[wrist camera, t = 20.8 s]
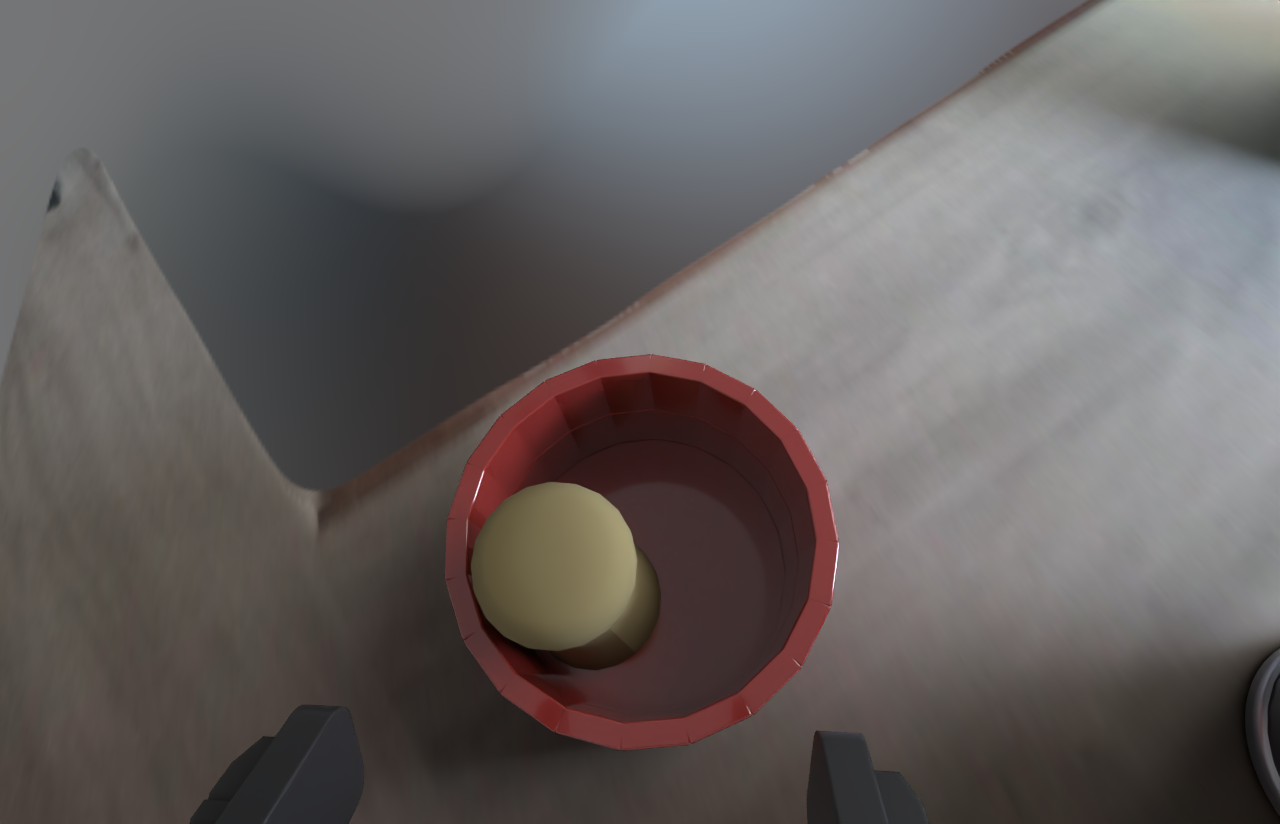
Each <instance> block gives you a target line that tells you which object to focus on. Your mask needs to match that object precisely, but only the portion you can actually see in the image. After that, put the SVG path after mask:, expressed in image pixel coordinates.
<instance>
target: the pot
mask: <svg viewBox="0 0 1280 824" xmlns="http://www.w3.org/2000/svg"><path fill="white" fill-rule="evenodd" d="M467 463H468V464H466V465H465V468H464V471H463V474H462V477H461V480H460V483H459V485H458V488H457V491H456V494H455V497H454V500H453V503H452V506H451V509H450V511H449V514H448V519H447V526H446V557H445V579H446V585H447V589H448V592H449V596H450V599H451V602H452V606H453V609H454V613H455V616H456V620H457V623H458V627H459V630H460V633H461V637H462V639H463V640H464V643H465V645H466V646H467V648H468V649H469V651H470V652H471V653H472V655H473V656H474V658H475V659H476V661H477V662H478V663H479V665H480V666H481V668H482V669H483V671H484V672H485V673H486V675H487V676H488V678H489V679H490V681H491V682H492V683H493V685H494V686H495V688H496V689H497V690H498V692H500V693H501V695H502V696H503V697H505V698H506V699H507V700H509V701H510V702H512V703H513V704H514V705H516V706H517V707H519V708H520V709H521V710H523V711H524V712H526V713H527V714H529V715H530V716H531V717H533V718H534V719H536V720H537V721H538V722H540V723H541V724H543V725H544V726H545V727H547V728H548V729H550V730H551V731H552V732H556V733H557V734H561V735H564V736H568V737H572V738H575V739H579V740H582V741H586V742H590V743H593V744H597V745H601V746H604V747H608V748H612V749H615V750H623V751H626V750H638V749H650V748H662V747H674V746H685V745H689V743H690V744H693V743H695V742H698V741H700V740H702V739H704V738H706V737H708V736H711V735H713V734H715V733H717V732H719V731H721V730H723V729H726V728H728V727H730V726H732V725H734V724H736V723H738V722H741V721H743V720H745V719H747V718H749V717H751V716H752V714H753V715H754V714H756V713H757V712H758V711H759V710H760V709H761V708H762V707H763V706H764V705H765V704H766V703H767V702H768V701H769V700H770V699H771V698H772V697H773V696H774V695H775V694H776V693H777V692H778V691H779V690H780V689H781V688H782V687H783V686H784V685H785V684H786V683H787V682H788V681H789V680H790V679H791V678H792V677H793V676H794V675H795V674H796V673H797V672H798V671H799V670H800V669H801V666H802V665H803V664H804V662H805V660H806V658H807V656H808V654H809V652H810V650H811V648H812V646H813V644H814V642H815V640H816V638H817V636H818V634H819V632H820V629H821V627H822V625H823V623H824V621H825V619H826V617H827V615H828V613H829V611H830V607H831V605H832V599H833V591H834V583H835V575H836V567H837V559H838V551H839V543H838V542H839V538H838V533H837V528H836V523H835V518H834V513H833V508H832V503H831V498H830V493H829V488H828V484H827V483H826V482H827V480H826V478H825V476H824V474H823V472H822V471H821V469H820V467H819V465H818V463H817V462H816V460H815V458H814V456H813V454H812V453H811V451H810V449H809V447H808V446H807V444H806V442H805V440H804V438H803V437H802V435H801V433H800V431H799V430H798V429H797V428H796V427H795V426H794V425H793V424H792V423H791V422H790V421H789V420H788V419H787V418H786V417H785V416H784V415H783V414H782V413H781V412H780V411H779V410H777V409H776V408H775V407H774V406H773V405H772V404H771V403H770V402H769V401H768V400H767V399H766V398H765V397H764V396H763V395H762V394H761V393H760V392H759V391H757V390H755V389H754V388H752V387H750V386H748V385H746V384H744V383H742V382H740V381H738V380H736V379H734V378H732V377H730V376H728V375H726V374H724V373H722V372H720V371H718V370H716V369H714V368H712V367H710V366H708V365H706V364H703V363H698V362H692V361H687V360H681V359H675V358H670V357H664V356H659V355H653V354H652V355H650V354H649V355H640V356H630V357H620V358H611V359H601V360H597V361H592V362H590V363H588V364H585V365H583V366H580V367H578V368H575V369H573V370H570V371H568V372H565V373H563V374H560V375H558V376H555V377H553V378H550V379H548V380H546V381H545V382H543V383H541V384H540V385H539V386H537V387H536V388H535V389H534V390H532V391H531V392H530V393H528V394H527V395H526V396H525V397H523V398H522V399H521V400H519V401H518V402H517V403H516V404H514V405H513V406H512V407H511V408H509V409H508V410H507V411H505V412H504V413H503V414H502V415H501V417H499V418H498V419H497V421H496V422H495V423H494V425H493V426H492V427H491V429H490V430H489V432H488V433H487V434H486V436H485V437H484V439H483V440H482V441H481V443H480V444H479V445H478V447H477V448H476V450H475V451H474V452H473V454H472V455H471V457H470V458H469V459H468V461H467ZM547 482H558V483H570V484H577V485H580V486H582V487H584V488H587V489H589V490H592V491H594V492H596V493H599V494H601V495H602V496H603V497H604V498H605V499H606V500H607V501H609V502H610V503H611V504H612V505H613V506H614V507H615V508H617V509H618V510H619V512H620V514H621V515H622V517H623V519H624V521H625V522H626V524H627V526H628V527H629V529H630V531H631V533H632V537H633V542H634V544H635V545H636V546H637V547H638V548H639V549H641V550H642V551H643V552H644V553H645V554H646V555H647V557H648V559H649V560H650V562H651V564H652V565H653V567H654V569H655V571H656V572H657V577H658V581H659V585H660V590H661V602H660V614H659V618H658V620H657V623H656V625H655V627H654V630H653V632H652V635H651V637H650V638H649V639H648V640H647V641H646V643H645V644H644V645H643V646H642V647H641V649H640V650H639V651H638V652H637V653H636V654H635V655H633V656H632V657H630V658H629V659H627V660H625V661H624V662H622V663H621V664H619V665H617V666H613V667H609V668H604V669H600V670H587V669H578V668H573V667H571V666H569V665H567V664H565V663H563V662H561V661H559V660H557V659H555V658H554V657H553V656H552V655H551V654H550V653H549V652H548V651H547V650H541V649H532V648H527V647H525V646H523V645H521V644H518V643H516V642H514V641H512V640H510V639H508V638H506V637H504V636H503V635H502V634H501V633H500V632H499V631H498V630H497V629H496V628H495V627H494V626H493V625H492V624H491V623H490V622H489V621H488V620H487V619H486V617H485V615H484V613H483V611H482V609H481V606H480V604H479V602H478V600H477V598H476V596H475V593H474V590H473V581H472V572H471V561H472V556H473V551H474V545H475V540H476V538H477V536H478V535H479V533H480V531H481V529H482V527H483V525H484V523H485V521H486V519H487V517H488V516H489V515H490V514H491V513H492V512H493V511H494V510H495V509H496V508H497V507H498V506H499V505H500V504H501V503H502V502H503V501H504V500H505V499H507V498H508V497H510V496H512V495H514V494H515V493H517V492H519V491H521V490H522V489H524V488H526V487H530V486H534V485H538V484H543V483H547Z"/></svg>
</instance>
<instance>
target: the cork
mask: <svg viewBox="0 0 1280 824" xmlns="http://www.w3.org/2000/svg"><path fill="white" fill-rule="evenodd" d="M471 572H472V581H473V590H474V593H475V596H476V598H477V600H478V602H479V604H480V606H481V609H482V611H483V613H484V615H485V617H486V619H487V620H488V621H489V622H490V623H491V624H492V625H493V626H494V627H495V628H496V629H497V630H498V631H499V632H500V633H501V634H502V635H503V636H504V637H506V638H508V639H510V640H512V641H514V642H516V643H518V644H521V645H523V646H525V647H527V648H532V649H541V650H547V651H548V652H549V653H550V654H551V655H552V656H553V657H554V658H555V659H557V660H559V661H561V662H563V663H565V664H567V665H569V666H571V667H573V668H578V669H587V670H600V669H604V668H609V667H613V666H617V665H619V664H621V663H622V662H624V661H625V660H627V659H629V658H630V657H632V656H633V655H635V654H636V653H637V652H638V651H639V650H640V649H641V647H642V646H643V645H644V644H645V643H646V641H647V640H648V639H649V638H650V637H651V635H652V632H653V630H654V627H655V625H656V623H657V620H658V618H659V614H660V602H661V590H660V585H659V581H658V577H657V572H656V571H655V569H654V567H653V565H652V564H651V562H650V560H649V559H648V557H647V555H646V554H645V553H644V552H643V551H642V550H641V549H639V548H638V547H637V546H636V545H635V544H634V542H633V537H632V533H631V531H630V529H629V527H628V526H627V524H626V522H625V521H624V519H623V517H622V515H621V514H620V512H619V510H618V509H617V508H615V507H614V506H613V505H612V504H611V503H610V502H609V501H607V500H606V499H605V498H604V497H603V496H602V495H601V494H599V493H596V492H594V491H592V490H589V489H587V488H584V487H582V486H580V485H577V484H570V483H558V482H547V483H543V484H538V485H534V486H530V487H526V488H524V489H522V490H521V491H519V492H517V493H515V494H514V495H512V496H510V497H508V498H507V499H505V500H504V501H503V502H502V503H501V504H500V505H499V506H498V507H497V508H496V509H495V510H494V511H493V512H492V513H491V514H490V515H489V516H488V517H487V519H486V521H485V523H484V525H483V527H482V529H481V531H480V533H479V535H478V536H477V538H476V540H475V545H474V551H473V556H472V561H471Z"/></svg>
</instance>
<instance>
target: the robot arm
mask: <svg viewBox="0 0 1280 824" xmlns="http://www.w3.org/2000/svg"><path fill="white" fill-rule="evenodd" d="M1245 727H1246V737H1247V743H1248V748H1249V752H1250V756H1251V760H1252V763H1253V766H1254V768H1255V771H1256V774H1257V776H1258V778H1259V781H1260V783H1261V785H1262V787H1263V789H1264V791H1265V793H1266V795H1267V797H1268V798H1269V800H1270V802H1271V804H1272V805H1273V807H1274V808H1275V810H1276V811H1277V813H1278V814H1279V816H1280V648H1279V649H1278V650H1277V651H1275V652H1274V653H1273V654H1272V655H1271V656H1270V657H1269V658H1268V659H1267V660H1266V661H1265V662H1264V663H1263V664H1262V666H1261V667H1260V668H1259V670H1258V672H1257V673H1256V675H1255V677H1254V679H1253V681H1252V684H1251V687H1250V689H1249V693H1248V697H1247V703H1246V710H1245ZM363 784H364V765H363V761H362V757H361V753H360V749H359V745H358V741H357V737H356V733H355V729H354V725H353V721H352V717H351V714H350V711H349V710H348V709H347V708H346V707H341V706H323V705H301V706H299V707H297V708H296V709H295V710H294V711H293V712H292V714H291V715H290V716H289V718H288V719H287V721H286V722H285V724H284V725H283V726H282V728H281V729H280V731H279V732H278V734H277V735H276V736H275V737H266V736H263V737H262V738H261V739H260V740H258V741H257V742H256V743H255V744H254V745H252V746H251V747H250V748H249V749H248V750H246V751H245V752H244V753H243V754H242V755H240V756H239V757H238V758H237V759H236V760H234V761H233V762H232V763H231V765H230V766H229V767H228V769H227V770H226V771H225V773H224V774H223V776H222V777H221V778H220V780H219V781H218V782H217V784H216V785H215V786H214V788H213V789H212V790H211V792H210V793H209V794H210V795H209V798H208V799H207V800H204V801H203V803H202V804H201V805H200V807H199V808H198V809H197V811H196V812H195V813H194V815H193V816H192V818H191V819H190V824H348V823H349V821H350V819H351V817H352V816H353V814H354V812H355V810H356V807H357V805H358V803H359V800H360V797H361V793H362V789H363ZM807 820H808V824H930V823H929V820H928V817H927V814H926V812H925V809H924V806H923V803H922V802H921V800H920V799H919V798H918V797H917V795H916V794H915V793H914V791H913V790H912V789H911V787H910V786H909V785H908V783H907V782H906V781H905V779H904V778H903V777H902V775H901V774H900V773H899V772H889V771H874V769H873V765H872V761H871V758H870V754H869V751H868V747H867V744H866V741H865V738H864V736H863V735H862V734H861V733H847V732H829V731H816V732H815V735H814V741H813V749H812V757H811V765H810V774H809V782H808V790H807Z"/></svg>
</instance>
